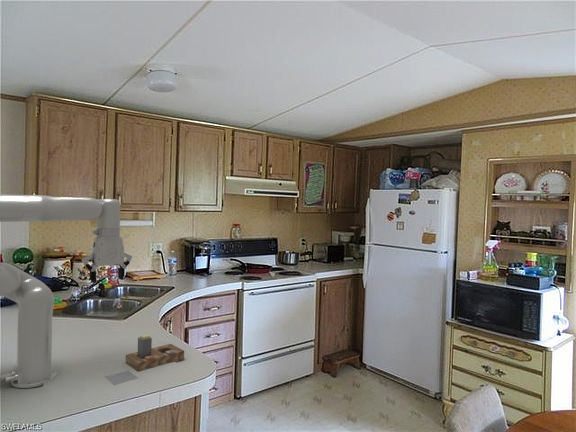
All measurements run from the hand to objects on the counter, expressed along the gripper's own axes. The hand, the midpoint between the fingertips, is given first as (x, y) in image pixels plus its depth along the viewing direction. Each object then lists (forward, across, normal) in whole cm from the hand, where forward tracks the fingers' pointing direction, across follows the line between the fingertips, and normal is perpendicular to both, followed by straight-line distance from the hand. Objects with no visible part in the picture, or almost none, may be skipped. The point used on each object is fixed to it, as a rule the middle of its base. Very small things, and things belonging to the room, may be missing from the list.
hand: (107, 280), depth 144 cm
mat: (+30, -1, -16) cm, 34 cm away
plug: (+30, +10, -10) cm, 33 cm away
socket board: (+30, +14, -10) cm, 35 cm away
